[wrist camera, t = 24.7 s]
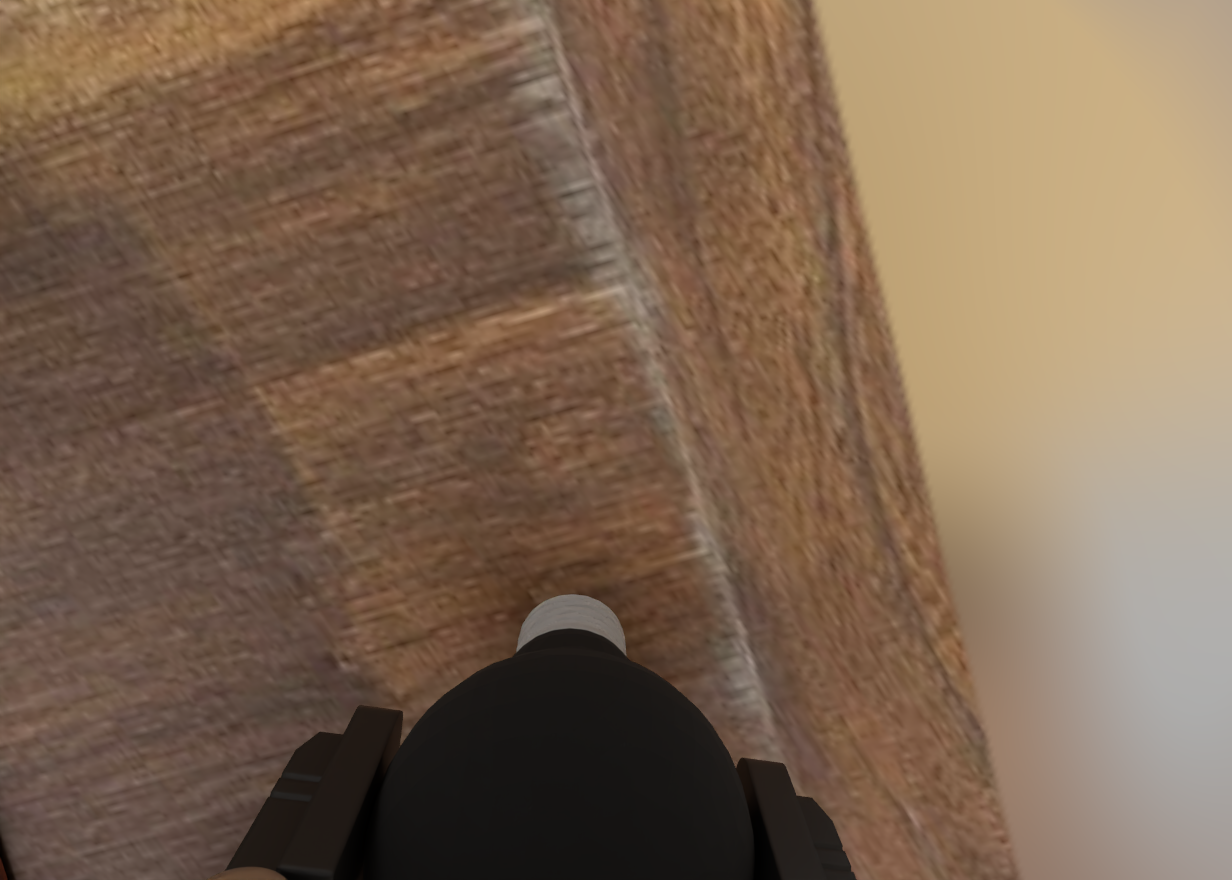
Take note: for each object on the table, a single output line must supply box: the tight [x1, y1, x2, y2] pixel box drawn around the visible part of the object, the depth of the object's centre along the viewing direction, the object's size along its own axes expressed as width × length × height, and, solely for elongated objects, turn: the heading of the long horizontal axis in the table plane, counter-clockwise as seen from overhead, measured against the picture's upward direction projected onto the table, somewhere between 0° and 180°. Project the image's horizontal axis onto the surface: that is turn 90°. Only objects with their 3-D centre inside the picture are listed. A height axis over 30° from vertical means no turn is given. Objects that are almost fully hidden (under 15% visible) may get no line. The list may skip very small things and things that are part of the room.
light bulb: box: [363, 594, 755, 880], centre depth 14 cm, size 6×6×10 cm
